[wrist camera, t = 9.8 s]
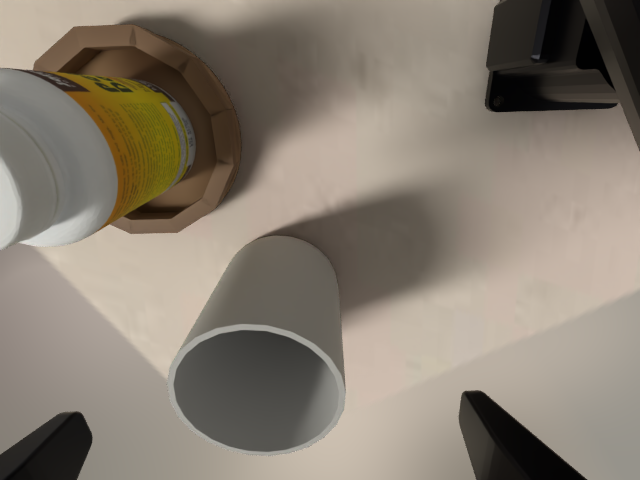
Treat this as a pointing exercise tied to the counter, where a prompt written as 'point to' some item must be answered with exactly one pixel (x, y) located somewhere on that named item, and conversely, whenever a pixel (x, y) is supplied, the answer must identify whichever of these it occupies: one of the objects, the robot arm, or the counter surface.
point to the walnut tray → (187, 89)
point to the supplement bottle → (83, 152)
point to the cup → (265, 353)
